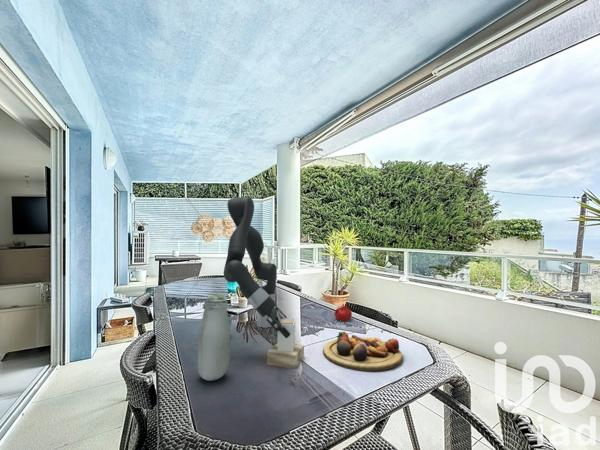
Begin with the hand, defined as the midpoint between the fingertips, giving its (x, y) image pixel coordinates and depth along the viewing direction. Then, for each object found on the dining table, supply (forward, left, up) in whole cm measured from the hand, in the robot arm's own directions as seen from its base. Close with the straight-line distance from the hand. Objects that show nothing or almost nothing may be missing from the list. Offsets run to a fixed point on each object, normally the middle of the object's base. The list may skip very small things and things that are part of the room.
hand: (289, 332), depth 113 cm
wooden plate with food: (-25, +17, -11) cm, 33 cm away
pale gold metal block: (+1, -1, -11) cm, 11 cm away
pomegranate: (-62, -15, -11) cm, 65 cm away
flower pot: (+6, -39, -11) cm, 41 cm away
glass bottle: (+28, -9, -11) cm, 31 cm away
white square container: (+1, -1, -6) cm, 6 cm away
